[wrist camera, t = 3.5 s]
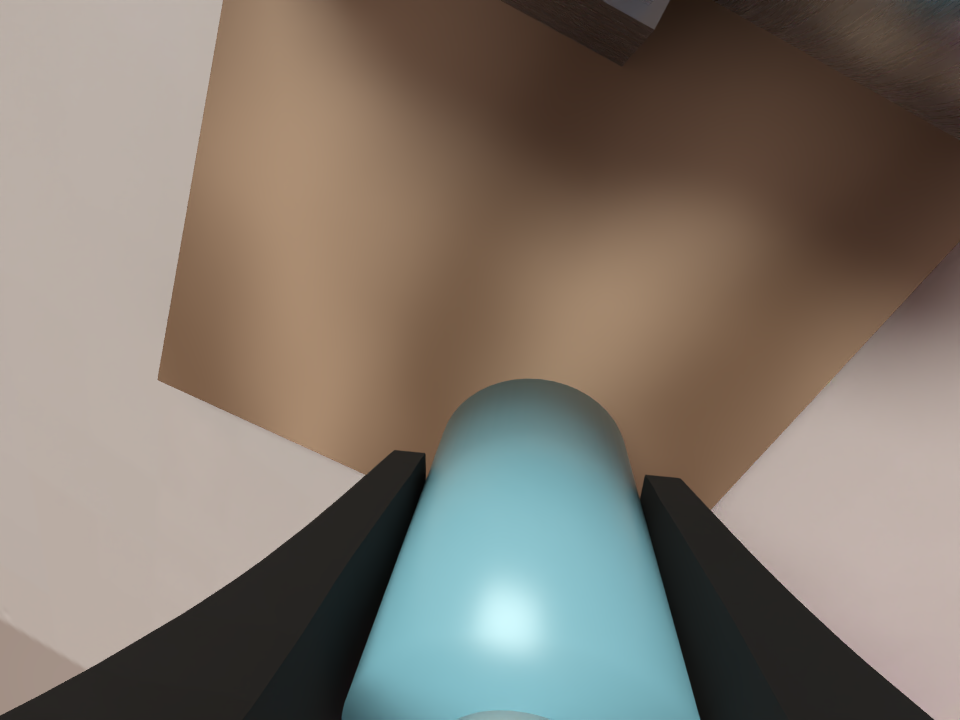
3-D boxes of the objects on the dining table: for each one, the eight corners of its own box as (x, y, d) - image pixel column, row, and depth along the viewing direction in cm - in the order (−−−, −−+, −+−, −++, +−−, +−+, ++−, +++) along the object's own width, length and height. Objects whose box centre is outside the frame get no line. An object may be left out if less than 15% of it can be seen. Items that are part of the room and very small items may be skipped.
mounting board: (1377, -295, 7) (1536, -381, 6) (624, 563, 15) (631, 595, 14) (450, -938, 6) (430, -1194, 5) (187, 362, 14) (157, 379, 13)
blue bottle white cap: (665, 432, 9) (866, 900, 4) (566, 556, 11) (590, 1017, 5) (487, 345, 9) (382, 696, 3) (414, 486, 11) (256, 886, 5)
